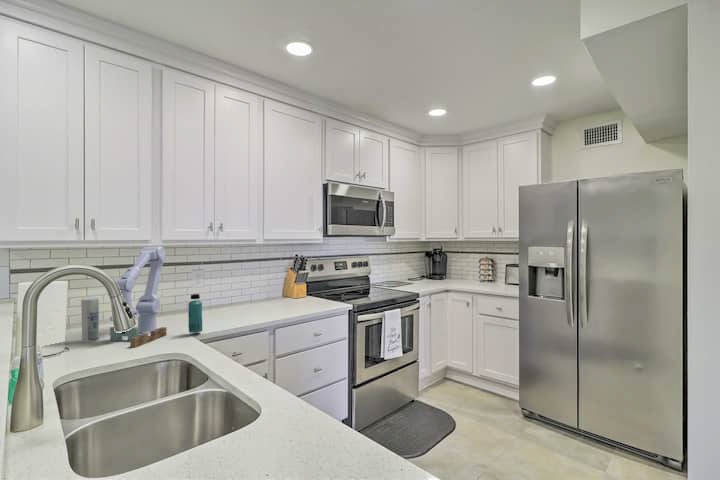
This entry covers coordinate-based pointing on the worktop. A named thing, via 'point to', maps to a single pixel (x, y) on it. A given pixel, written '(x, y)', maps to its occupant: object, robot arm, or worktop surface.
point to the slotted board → (147, 337)
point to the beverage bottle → (195, 315)
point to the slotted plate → (131, 333)
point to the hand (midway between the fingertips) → (124, 332)
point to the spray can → (90, 319)
